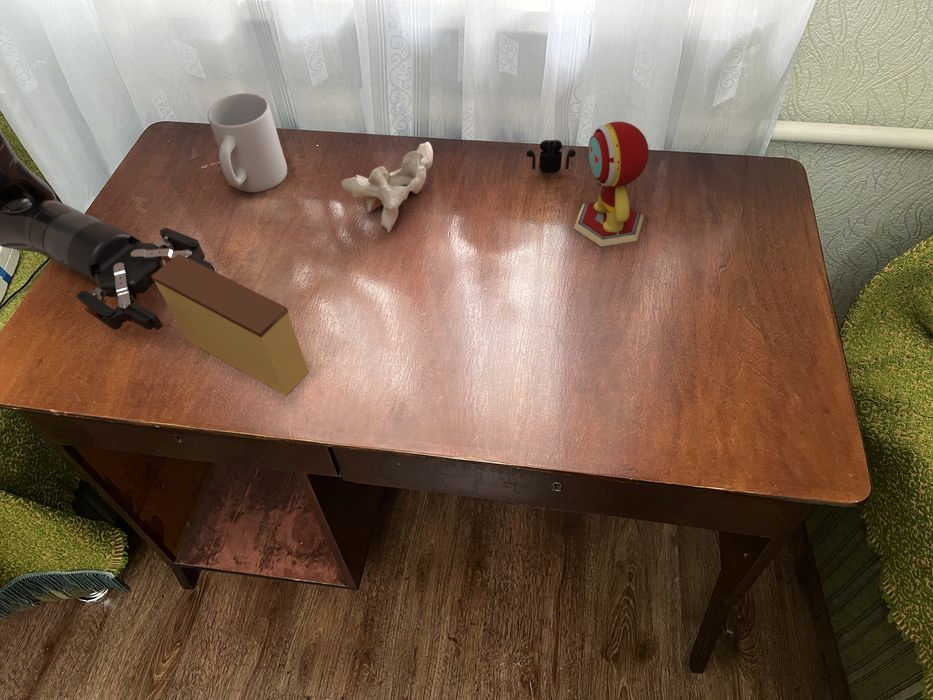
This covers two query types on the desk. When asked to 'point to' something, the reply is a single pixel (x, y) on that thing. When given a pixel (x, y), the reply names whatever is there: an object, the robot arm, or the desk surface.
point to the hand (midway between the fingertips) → (186, 298)
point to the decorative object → (392, 184)
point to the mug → (247, 142)
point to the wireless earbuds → (550, 156)
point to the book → (233, 323)
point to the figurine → (614, 184)
